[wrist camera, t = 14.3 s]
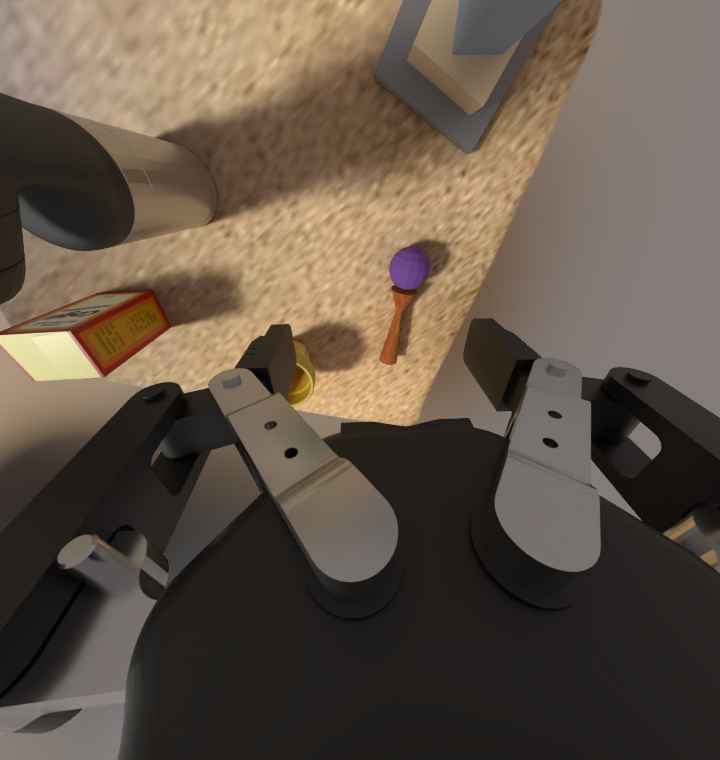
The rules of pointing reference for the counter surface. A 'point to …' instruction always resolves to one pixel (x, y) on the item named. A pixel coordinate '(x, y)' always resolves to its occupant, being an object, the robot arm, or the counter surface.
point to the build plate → (433, 97)
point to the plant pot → (301, 377)
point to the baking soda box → (85, 336)
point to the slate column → (496, 24)
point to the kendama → (403, 293)
